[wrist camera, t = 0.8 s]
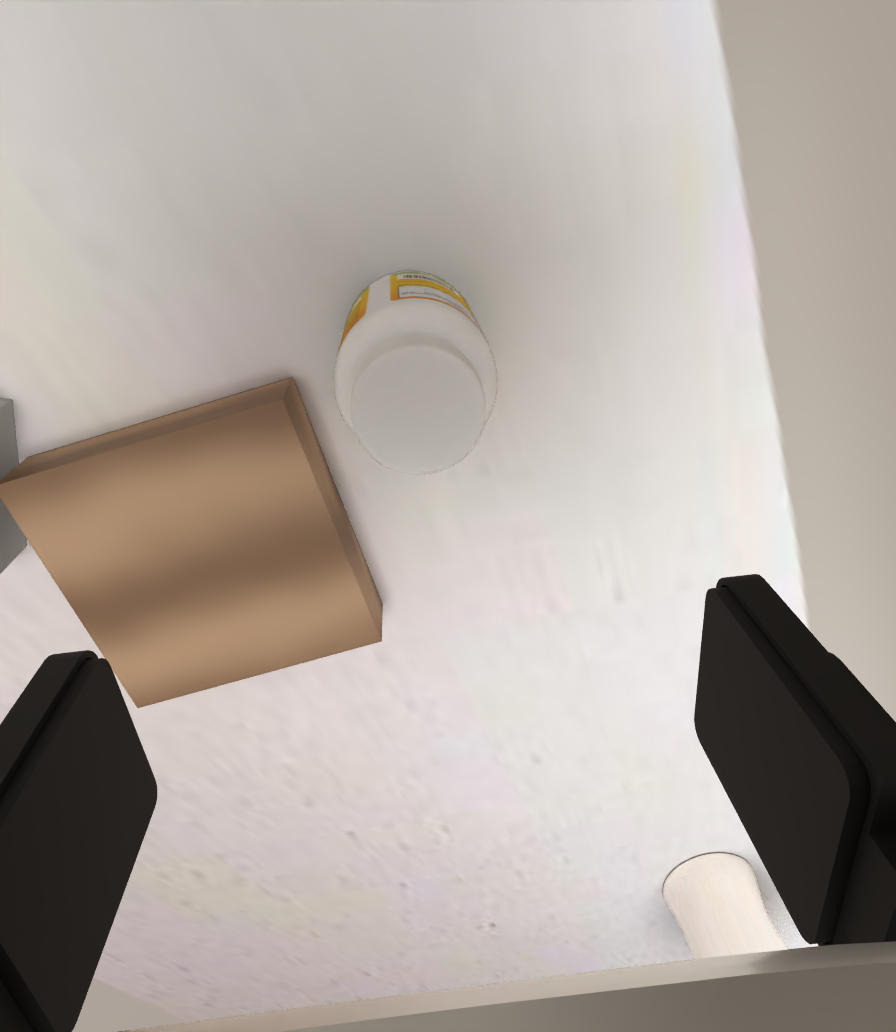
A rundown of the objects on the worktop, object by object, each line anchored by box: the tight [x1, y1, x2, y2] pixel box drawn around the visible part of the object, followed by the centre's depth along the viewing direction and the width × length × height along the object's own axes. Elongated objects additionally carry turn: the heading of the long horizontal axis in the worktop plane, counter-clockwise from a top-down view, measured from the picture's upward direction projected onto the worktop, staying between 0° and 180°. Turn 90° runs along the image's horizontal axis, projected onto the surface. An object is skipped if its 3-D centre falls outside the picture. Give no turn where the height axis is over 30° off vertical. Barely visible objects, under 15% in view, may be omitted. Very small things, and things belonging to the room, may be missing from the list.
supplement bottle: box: [334, 271, 497, 475], centre depth 25 cm, size 5×5×10 cm
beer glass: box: [663, 853, 788, 959], centre depth 40 cm, size 7×7×15 cm
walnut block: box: [0, 377, 383, 708], centre depth 31 cm, size 12×12×3 cm
